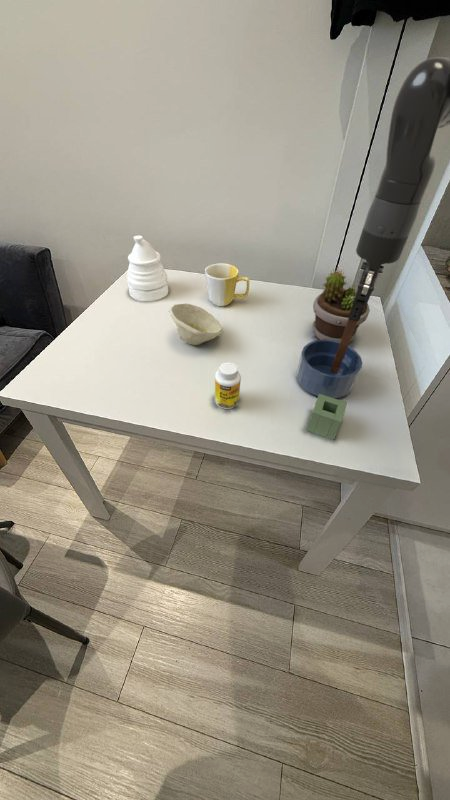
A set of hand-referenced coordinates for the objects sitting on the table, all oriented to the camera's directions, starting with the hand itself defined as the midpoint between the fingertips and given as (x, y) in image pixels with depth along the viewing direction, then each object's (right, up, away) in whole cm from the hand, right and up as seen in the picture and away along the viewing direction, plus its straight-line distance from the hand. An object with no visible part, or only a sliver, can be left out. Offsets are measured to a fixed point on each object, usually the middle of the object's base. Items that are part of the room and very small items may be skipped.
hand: (354, 316), depth 68 cm
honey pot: (-52, +19, +42) cm, 70 cm away
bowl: (-35, -1, +24) cm, 42 cm away
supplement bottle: (-27, -18, +8) cm, 33 cm away
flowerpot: (+4, +1, +27) cm, 27 cm away
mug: (-27, +14, +38) cm, 49 cm away
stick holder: (-5, -23, +4) cm, 24 cm away
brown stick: (-1, -10, +11) cm, 15 cm away
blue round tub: (-2, -13, +14) cm, 19 cm away
